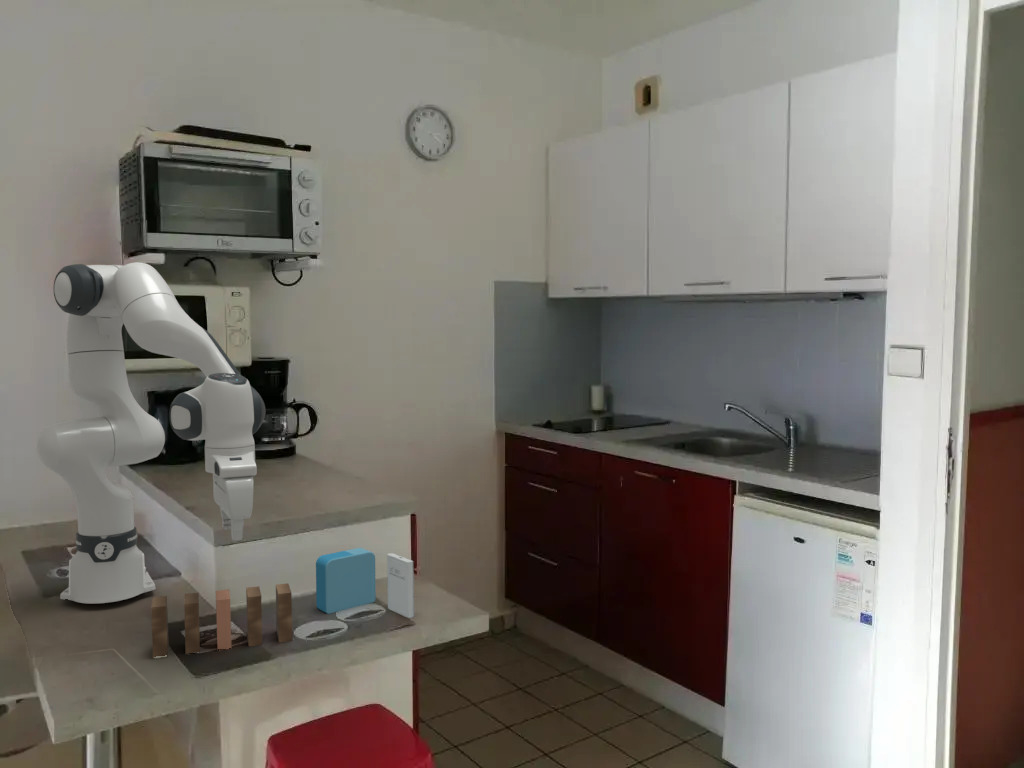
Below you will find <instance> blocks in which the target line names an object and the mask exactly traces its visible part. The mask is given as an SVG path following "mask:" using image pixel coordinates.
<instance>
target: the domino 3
mask: <svg viewBox="0 0 1024 768" xmlns="http://www.w3.org/2000/svg"><path fill="white" fill-rule="evenodd" d="M215 608H216V609H215V611H216V612H215V617H216V618H215V619H216V644H217V645H216V646H217V650H218V649H226V650H230V649H229V648H231V649H232V619H231V618H232V615H231V614H232V613H231V594H230V589H229V588H228V589H221V590H220V589H219V590H215Z"/></svg>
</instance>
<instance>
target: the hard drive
mask: <svg viewBox="0 0 1024 768" xmlns="http://www.w3.org/2000/svg"><path fill="white" fill-rule="evenodd" d="M386 557H387V558H386V560H387V561H386V562H387V564H386V565H387V567H386V568H387V572H386V573H387V610H389V611H392V612H394V613H396V614H398V615H401V616H403V617H406V618H408V619H412V618H414V617H415V591H414V590H415V586H414V585H415V584H414V583H415V580H414V561H413V560H412V559H409V558H407V557H404V556H401V555H398V554H396V553H392V552H389V553H387V554H386Z"/></svg>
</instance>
